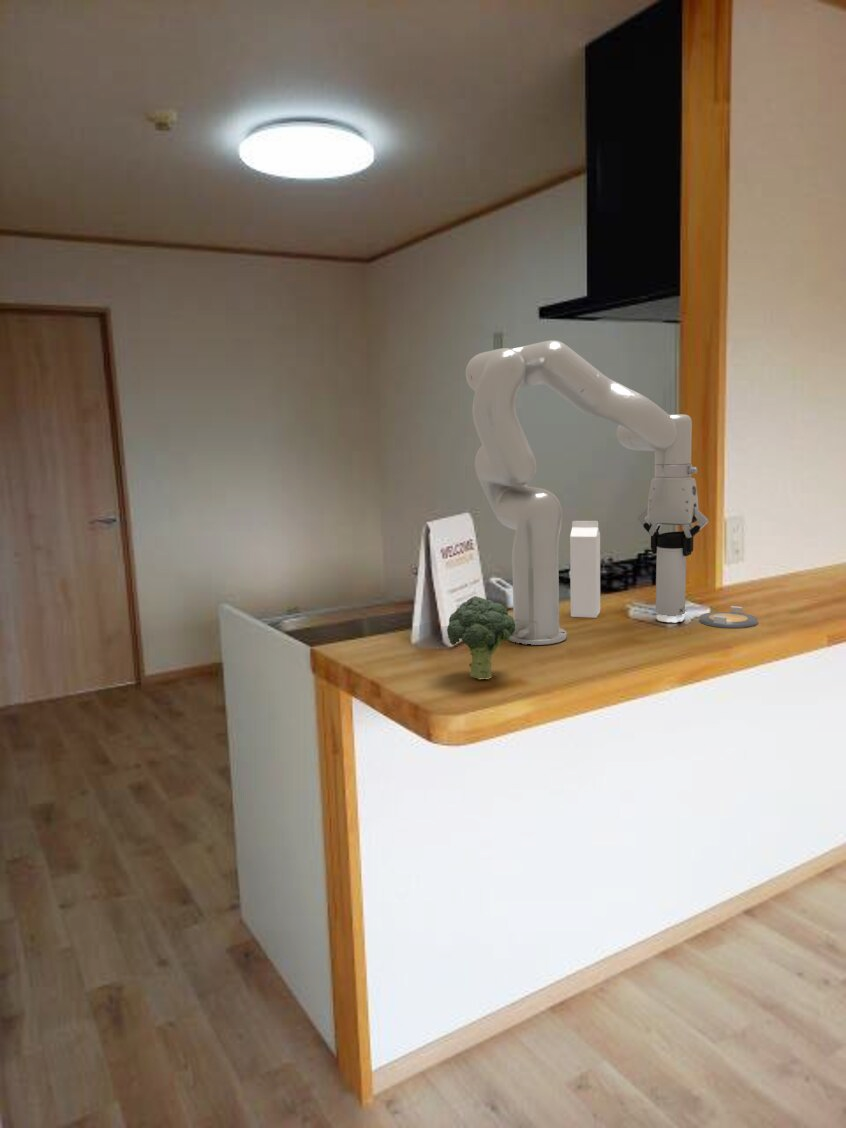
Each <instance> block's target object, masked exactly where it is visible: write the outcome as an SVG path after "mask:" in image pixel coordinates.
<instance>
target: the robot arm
mask: <svg viewBox="0 0 846 1128" xmlns="http://www.w3.org/2000/svg"><path fill="white" fill-rule="evenodd" d="M465 379H466V383H467V385H468V386H469V387H470V389H472V390H473V391H474V392H475V393H474V396H473V400H472V401H473V402H472V412H471V413H472V420H473V424H474V427H475V430H476V433H477V435H478V437H479V440H480V443H481V446H480V447H479V448H478V450H477V452H476V454H475V455H476V456H475V458H474V469H475V472H476V476H477V479H478V482H479V483H480V487H481V488H482V491H483V492H484V494H485V496H486V498H487V501H488V504H489V506H490V507H491V510H492V512H493V514H494V515H495V517H496V518H497V520H498V521H499V522H500V523H501V525H503V526H504V527H506V528H508V529H511V530H515V533H514V534H515V535H514V539H513V542H512V543H513V544H512V548H511V549H512V552H511V553H512V554H511V567H512V604H513V605H512V607H513V608H512V610H513V611H512V612H513V613H512V614H513V615H512V617H513V620H514V623H515V628H516V629H515V631H514V633H513V634H512V635H511V636H510V638H509V640H508V641H510V642H512V643H515V642H516V644H519V643H522V644H521V645H527V644H531V645H530V646H542V645H543V646H544V645H553V644H557V643H560V642H563V641H565V640H566V639H567V636H568V635H567V631H566V630H565V629H564V628H561V627H560V591H559V589H560V587H559V586H560V585H559V584H560V582H559V581H560V579H559V576H560V575H559V569H560V568H559V543H560V533H561V527H562V522H563V510H562V505H561V502H560V501H559V499H558V497H557V496H556V495H555V494H554V493H553V492H551V491H550V490H548V489H545V488H543V487H536V486H528V484H529V483H530V482H532V480H533V479H534V477H535V476H536V473H537V461H536V457H535V455H534V452H533V451H532V449H531V447H530V443H529V442H528V439H527V436H526V435H525V432H524V430H523V428H522V425H521V423H520V420H519V418H518V414H517V410H516V399H517V395H518V392H519V389H522V388H524V389H525V388H529V387H532V386H533V387H534V386H539V385H545V386H547V387H548V388H550V389H551V391H552V390H553V391H554V392H555V393H557V395H559V396H561V398H563V399H564V400H566V401H567V402H569V403H570V404H571V405H572V406H573V407H575V408H576V409H578V410H579V411H580V412H581V413H584V414H587V415H589V416H591V417H594V418H597V419H598V418H599V419H602V420H605V421H610V422H612V423H615V424H617V425H618V427H617V428H616V438H617V441H618V442H619V444H620V445H621V446H623V447H624V448H626V449H628V450H633V451H641V452H642V451H650V452H654V478H652V479H651V483H650V487H649V492H648V498H647V499H648V500H647V508H645V510H643V511H642V513H640V514H639V515H638V516H637V521H638V522H639V523H640V524H641V525H642V526H643V528H644V530H646V531H647V533H648V536H650V549H651V551H652V552H651V554H653V555H657V543H658V542H657V537H658V535H659V534H660V530H661V528H662V525H672V526H681V527H682V531H684V533H685V538H683V555H684V556H686V557H688V556H690V555H692V552H693V551H694V537H695V536H696V535H697V534H698V533H700V531H701V530H702V529H703V528H704V527H705V526H706V525H707V524H708V523H709V519H708V518H707V517H706V516H705V514H703V512H701V511H700V510H699V498H698V488H697V483H696V482H697V481H696V479H695V477H692V476H693V475H694V474H697V473H698V467H697V466H693V463H692V436H693V435H692V433H693V431H692V430H693V429H692V427H693V422H692V418H691V416H690V415H688V414H683V413H681V414H679V413H678V414H677V413H675V414H668V413H667V412H666V411H665V410H664V409H663V408H662V407H660V406H659V405H657V404H656V403H655V402H653V401H652V400H650V399H649V398H648V397H647V396H645V395H643V394H641V393H640V392H637V391H635V390H633V389H631V388H629V387H628V386H625V385H623V384H621V383H620V382H618V381H615V380H613V379H611V378H609V377H608V376H606V375H605V374H603V373H602V372H601V371H600V370H598V368H596V367H595V366H593V365H592V364H591V363H590V362H588V360H586V359H585V358H584V357H582V356H581V355H580V354H578V353H577V352H576V351H574V350H573V349H572V348H570V347H569V346H568V345H567V344H565V343H563V342H561V341H560V340H556V339H555V340H551V339H550V340H545V341H541V342H535V343H531V344H528V345H523V346H518V347H514V348H508V347H506V348H505V347H503V348H497V349H492V350H489V351H484V352H480V353H478V354H475V355H474V356H473V357H472V358H471V359H470V360H469V361H468V364H467V365H466V368H465ZM696 522H697V523H696ZM694 523H696V525H693V524H694Z"/></svg>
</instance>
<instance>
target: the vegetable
mask: <svg viewBox="0 0 846 1128" xmlns="http://www.w3.org/2000/svg"><path fill="white" fill-rule="evenodd" d="M515 629H516V628H515V623H514V619H513V616H512V615H509V613H508V610H506V607H505V606H504V605H502V603H499V602H494V601H493V600H491V599H486V598H483V597H479V596H477V595H474V596H472V597H470V598H468V599H467V600H466V601H464V602H462V603H461V604H460V605H459V607H458V608H456V610H455V611H454V612H453V613H451V614H450V617H449V618H448V625H447V628H446V632H447V638H448V640H449V643H450V645H452V646H454V645H456V644H457V643H459V641H460V639H461V641H462V642H463V643H465V644H466V646H467V647H468V648H469V651H470V655H471V663H469V664H468V666H469V668H470V673H469V677H471V678H474V679H476V678H489V677H491V676H492V675H493V674H492V670H491V669H492V661H491V658H492V656H493V655H494V654H495V652H496V651H497V649H498V647H499V646H500V644H501V643H502V642H508V641H509V638H510V636H511V635H512V634H513V633H514V631H515ZM492 677H493V676H492ZM492 677H491V678H492Z"/></svg>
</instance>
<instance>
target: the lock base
mask: <svg viewBox="0 0 846 1128" xmlns="http://www.w3.org/2000/svg"><path fill="white" fill-rule="evenodd" d="M729 609H730V611H712V612H705V613H702V614H701V615H699V622H700V623H701V624H703V625H706V626H708V627H714V628H723V629H745V628H751V627H755V626H757V625H758V621H759V620H758V619H759V618H758V617H756V616H755V615H753V614H748V613H743V607H742V606H737V605H736V606H734V605H731V606H730V607H729ZM756 624H757V625H756Z"/></svg>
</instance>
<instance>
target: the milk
mask: <svg viewBox="0 0 846 1128" xmlns="http://www.w3.org/2000/svg"><path fill="white" fill-rule="evenodd" d="M569 544H570V545H569V546H570V547H569V554H570V555H569V558H570V559H569V560H570V561H569V565H570V567H569V569H570V570H569V571H570V574H569V575H570V578H569V580H570V582H569V584H570V588H569V589H570V617H571V618H591V619H592V618H595V619H597V618H598V616H599V614H600V613H601V532H600V528H599V522H598V520H572V521H571V530H570V535H569Z"/></svg>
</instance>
